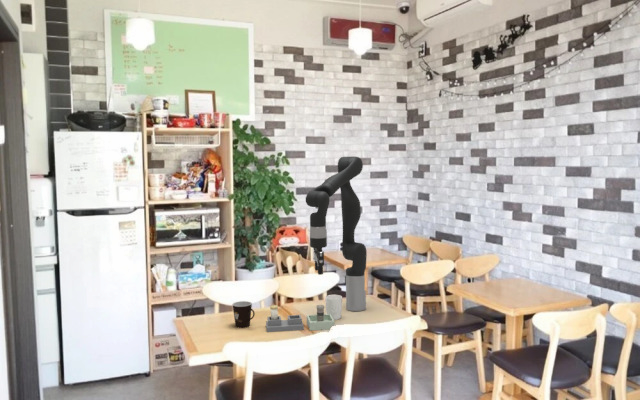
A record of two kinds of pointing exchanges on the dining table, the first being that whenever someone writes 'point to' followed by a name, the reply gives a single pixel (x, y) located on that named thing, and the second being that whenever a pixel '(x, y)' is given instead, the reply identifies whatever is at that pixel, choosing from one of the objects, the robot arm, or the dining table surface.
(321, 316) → the fuse
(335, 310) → the white cup
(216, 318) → the dining table surface
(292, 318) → the fuse block
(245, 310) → the coffee mug
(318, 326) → the parts tray
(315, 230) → the robot arm
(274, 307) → the fuse
